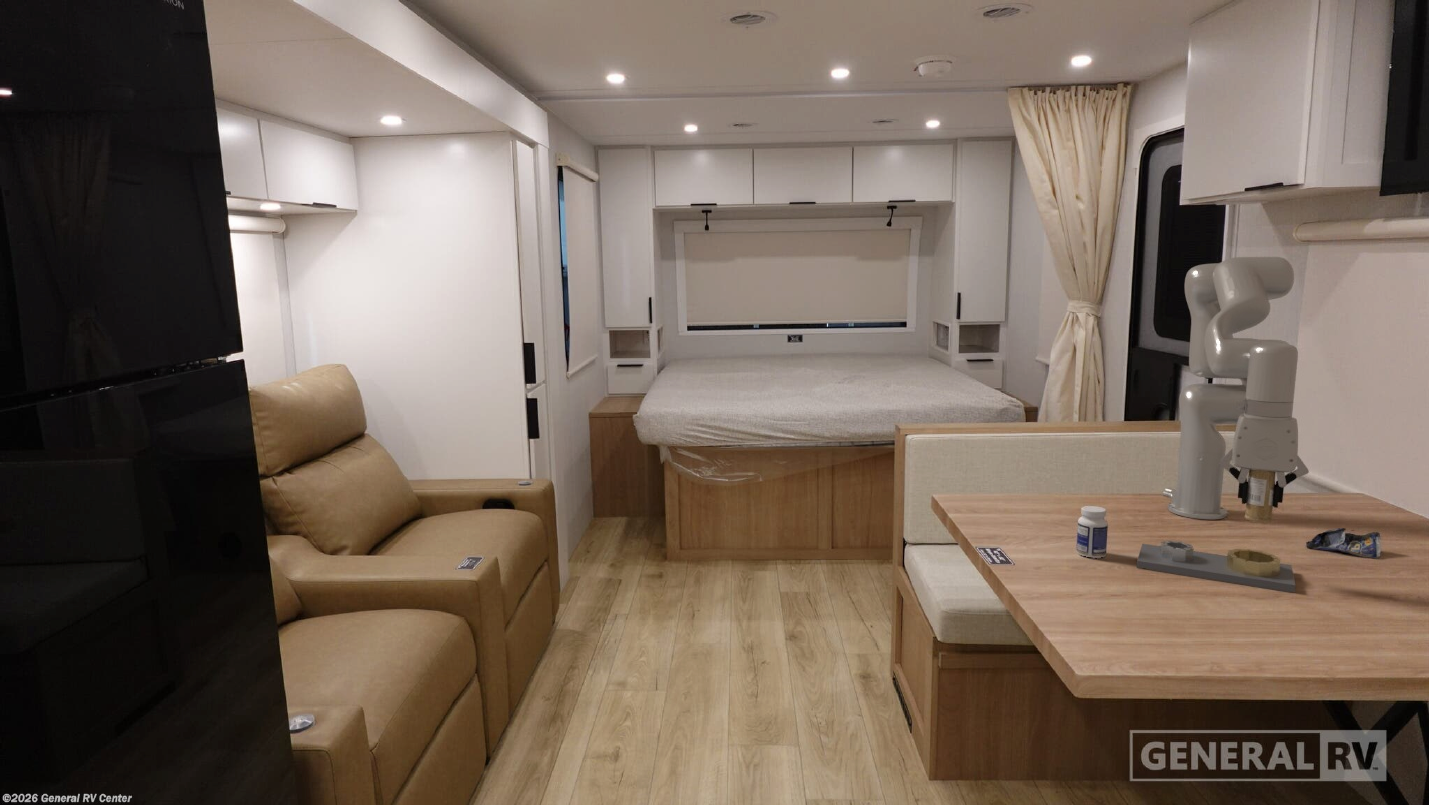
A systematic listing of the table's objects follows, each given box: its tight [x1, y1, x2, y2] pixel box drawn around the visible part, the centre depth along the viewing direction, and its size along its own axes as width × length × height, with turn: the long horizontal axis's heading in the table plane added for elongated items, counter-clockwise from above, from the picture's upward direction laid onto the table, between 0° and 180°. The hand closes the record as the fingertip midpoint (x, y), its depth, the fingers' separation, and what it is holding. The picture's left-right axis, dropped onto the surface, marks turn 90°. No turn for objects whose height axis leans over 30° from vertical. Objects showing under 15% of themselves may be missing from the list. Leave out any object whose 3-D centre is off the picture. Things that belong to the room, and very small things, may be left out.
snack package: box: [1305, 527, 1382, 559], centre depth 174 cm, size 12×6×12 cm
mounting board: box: [1136, 543, 1296, 594], centre depth 164 cm, size 26×12×2 cm, turn 58°
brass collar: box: [1226, 548, 1281, 577], centre depth 160 cm, size 8×8×2 cm
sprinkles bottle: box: [1243, 469, 1276, 524], centre depth 157 cm, size 5×5×13 cm
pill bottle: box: [1075, 505, 1109, 559], centre depth 173 cm, size 6×6×10 cm
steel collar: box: [1159, 540, 1195, 562], centre depth 167 cm, size 6×6×2 cm
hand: (1259, 503), depth 158 cm, fingers closed on sprinkles bottle, 4 cm apart
